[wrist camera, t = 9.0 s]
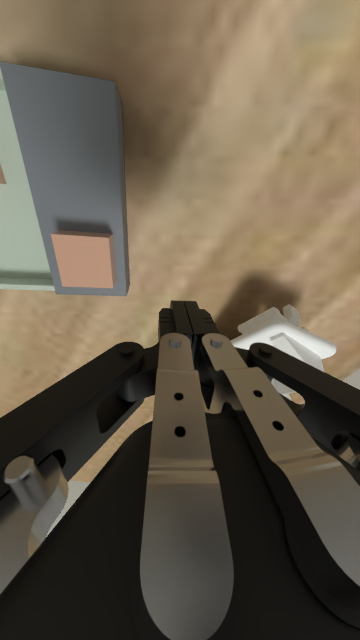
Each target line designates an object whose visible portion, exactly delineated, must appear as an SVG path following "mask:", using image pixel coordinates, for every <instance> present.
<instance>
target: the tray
mask: <svg viewBox="0 0 360 640" xmlns="http://www.w3.org/2000/svg"><path fill="white" fill-rule="evenodd" d="M0 164H1V167H2V171H3V174H4V177H5V180H6V184H0V289H19V290H50V291H55V288H54V284H53V280H52V276H51V272H50V268H49V264H48V260H47V256H46V252H45V247H44V243H43V239H42V235H41V231H40V227H39V223H38V219H37V215H36V211H35V207H34V203H33V199H32V194H31V190H30V186H29V182H28V178H27V174H26V170H25V166H24V162H23V158H22V154H21V150H20V146H19V142H18V137H17V133H16V129H15V125H14V121H13V117H12V113H11V109H10V105H9V101H8V97H7V93H6V89H5V85H4V80H3V76H2V72H1V68H0Z"/></svg>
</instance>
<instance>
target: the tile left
mask: <svg viewBox="0 0 360 640" xmlns="http://www.w3.org/2000/svg"><path fill="white" fill-rule="evenodd" d="M0 184H6V180H5V177H4V174H3V171H2V167H1V164H0Z"/></svg>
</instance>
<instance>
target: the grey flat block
mask: <svg viewBox="0 0 360 640" xmlns="http://www.w3.org/2000/svg"><path fill="white" fill-rule="evenodd" d="M0 68H1V72H2V76H3V80H4V85H5V89H6V93H7V97H8V101H9V105H10V109H11V113H12V117H13V121H14V125H15V129H16V133H17V137H18V142H19V146H20V150H21V154H22V158H23V162H24V166H25V170H26V174H27V178H28V182H29V186H30V190H31V194H32V199H33V203H34V207H35V211H36V215H37V219H38V223H39V227H40V231H41V235H42V239H43V243H44V247H45V252H46V256H47V260H48V264H49V268H50V272H51V276H52V280H53V284H54V288H55V292H56V294H69V295H102V296H127V293H128V289H129V286H130V277H129V255H128V233H127V210H126V188H125V166H124V143H123V121H122V102H121V99H120V96H119V93H118V90H117V87H116V84H115V81H110V80H104V79H99V78H93V77H87V76H81V75H75V74H69V73H64V72H58V71H52V70H46V69H40V68H34V67H29V66H23V65H17V64H11V63H5V62H0ZM61 230H65V231H79V232H93V233H107V234H113V238H114V251H115V264H116V276H117V281H116V283H115V285H114V287H113V288H91V287H63V286H62V282H61V278H60V273H59V269H58V264H57V260H56V255H55V251H54V246H53V242H52V237H51V234H52V233H55V232H58V231H61Z"/></svg>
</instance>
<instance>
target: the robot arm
mask: <svg viewBox="0 0 360 640" xmlns="http://www.w3.org/2000/svg"><path fill="white" fill-rule="evenodd" d="M158 341H159V342H158V343H157V344H156V345H155V346H153V347H150V348H146V349H144V348H143V347H142V346H141V345H140V344H138V343H135V342H123V343H119V344H117V345H115V346H114V347H112V348H110V349H109V350H107V351H106V352H104V353H102V354H101V355H99V356H98V357H96V358H95V359H93V360H91V361H90V362H88V363H87V364H85V365H83V366H82V367H80V368H79V369H77V370H76V371H74V372H72V373H71V374H69V375H68V376H66V377H65V378H63V379H61V380H60V381H58V382H57V383H55V384H53V385H52V386H50V387H49V388H47V389H46V390H44V391H42V392H41V393H39V394H38V395H36V396H35V397H33V398H31V399H30V400H28V401H27V402H25V403H23V404H22V405H20V406H19V407H17V408H16V409H14V410H12V411H11V412H9V413H8V414H6V415H4V416H3V417H1V418H0V640H360V390H359V389H357V388H355V387H353V386H351V385H349V384H347V383H345V382H343V381H341V380H339V379H337V378H335V377H333V376H331V375H329V374H327V373H325V372H323V371H321V370H319V369H317V368H315V367H313V366H311V365H309V364H307V363H305V362H303V361H301V360H299V359H297V358H295V357H293V356H291V355H289V354H287V353H285V352H283V351H281V350H279V349H277V348H275V347H273V346H271V345H269V344H266V343H260V342H258V343H253V344H251V345H250V348H249V350H246V349H242V348H237V347H234V346H233V344H232V343H231V341H230V340H229V339H228V338H227V337H225V336H223V335H221V334H220V333H219V331H218V329H217V327H216V325H215V323H214V321H213V319H212V317H211V315H210V313H208V312H207V311H206V310H205V309H199V307H198V305H197V302H196V301H184V302H183V301H171V304H170V308H162V309H161V311H160V312H159V327H158ZM273 378H274V379H275V380H277V381H279V382H280V383H282V384H284V385H285V386H287V387H289V388H291V389H292V390H294V391H296V392H297V393H299V394H300V395H301V396H302V397H303V398H304V400H305V404H302V405H300V404H296V403H294V402H293V401H291V400H290V399H288V398H286V397H285V396H283V395H282V394H280V393H278V391H277V390H276V388H275V387H274V386H273V384H272V383H271V381H272V379H273ZM152 395H155V400H154V411H153V421H151V422H149V423H146V424H145V425H143V426H141V427H140V428H138V429H137V430H136V431H134V432H133V433H132V434H131V435H130V436H129V437H128V438H127V439H126V440H125V441H124V442H123V444H122V445H121V446H120V447H119V449H118V450H117V451H116V452H115V453H114V455H113V456H112V457H111V458H110V460H109V461H108V462H107V463H106V465H105V466H104V467H103V468H102V469H101V471H100V472H99V473H98V474H97V476H96V477H95V478H94V479H93V481H92V482H91V483H90V484H89V486H88V487H87V488H86V489H85V491H84V492H83V493H82V494H81V495H80V497H79V498H78V499H77V500H76V502H75V503H74V504H73V505H72V506H71V508H70V509H69V510H68V512H67V513H66V514H65V515H64V516H63V517H62V519H61V520H60V521H59V522H58V524H57V525H56V526H55V527H54V529H53V530H52V531H51V532H50V534H49V535H48V536H47V537H46V535H47V533H48V531H49V529H50V527H51V525H52V524H53V522H54V521H55V520H56V518H57V517H58V515H59V514H60V513H61V511H62V509H63V508H64V505H65V503H66V500H67V497H68V483H67V482H68V481H69V480H70V479H71V478H72V477H73V476H74V475H75V474H76V473H77V472H78V471H79V470H80V469H81V467H82V466H83V465H84V464H85V463H86V462H87V461H88V460H89V459H90V458H91V457H92V456H93V455H94V454H95V453H96V452H97V451H98V450H99V448H100V447H101V446H102V445H103V444H104V443H105V442H106V441H107V440H108V439H109V438H110V437H111V436H112V435H113V434H114V433H115V432H116V430H117V429H118V428H119V427H120V426H121V425H122V424H123V423H124V422H125V421H126V420H127V419H128V418H129V417H130V416H131V415H132V414H133V413H134V411H135V410H136V409H137V408H138V407H139V406H140V405H141V404H142V403H143V401H144V398H146V397H149V396H152Z"/></svg>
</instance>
